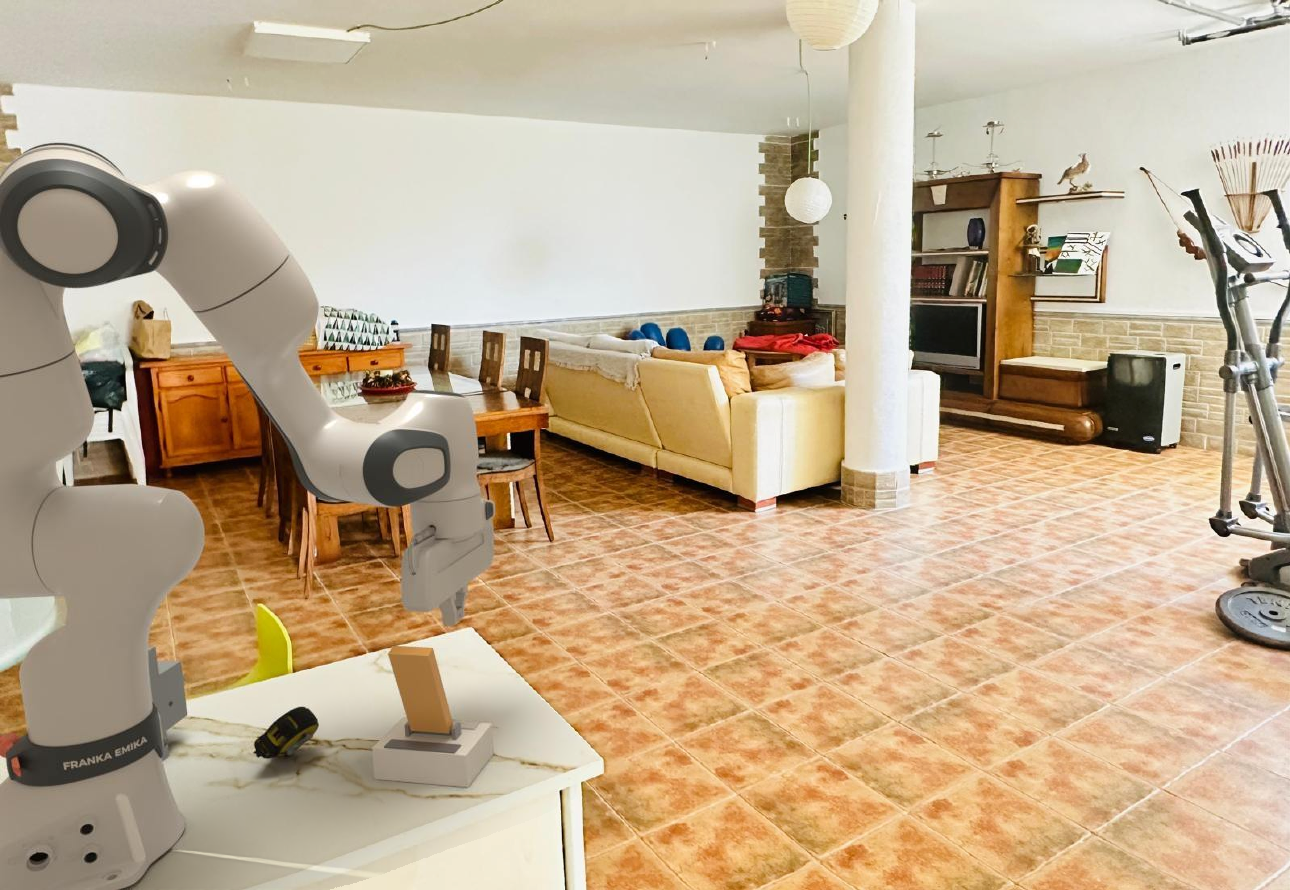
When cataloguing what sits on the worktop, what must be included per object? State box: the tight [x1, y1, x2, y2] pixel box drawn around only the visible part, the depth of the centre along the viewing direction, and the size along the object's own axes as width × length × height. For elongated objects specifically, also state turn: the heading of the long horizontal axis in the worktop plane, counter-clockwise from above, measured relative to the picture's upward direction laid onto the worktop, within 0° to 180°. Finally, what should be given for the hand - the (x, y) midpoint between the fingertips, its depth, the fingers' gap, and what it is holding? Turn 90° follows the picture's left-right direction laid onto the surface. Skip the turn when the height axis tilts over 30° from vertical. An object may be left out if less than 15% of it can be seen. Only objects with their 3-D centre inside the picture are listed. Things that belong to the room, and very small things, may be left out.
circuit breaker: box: [148, 646, 188, 762], centre depth 110 cm, size 8×14×15 cm, turn 174°
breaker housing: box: [371, 716, 495, 788], centre depth 107 cm, size 8×12×6 cm, turn 78°
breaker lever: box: [387, 645, 453, 736], centre depth 104 cm, size 1×5×13 cm, turn 78°
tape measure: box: [253, 706, 320, 760], centre depth 109 cm, size 7×7×4 cm
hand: (454, 622), depth 113 cm, fingers closed
